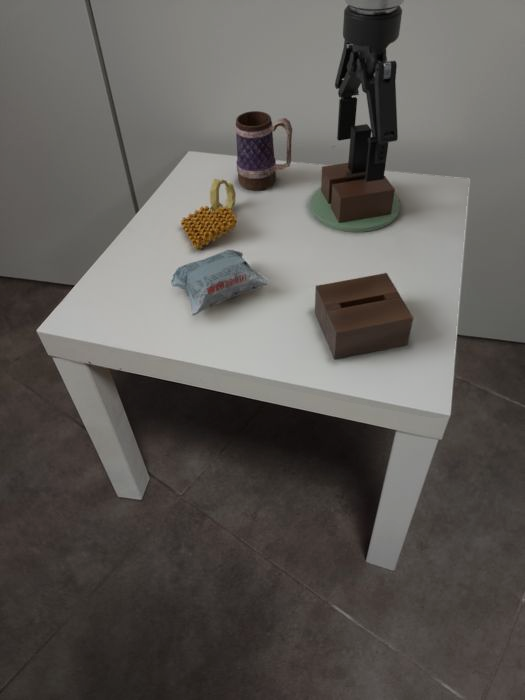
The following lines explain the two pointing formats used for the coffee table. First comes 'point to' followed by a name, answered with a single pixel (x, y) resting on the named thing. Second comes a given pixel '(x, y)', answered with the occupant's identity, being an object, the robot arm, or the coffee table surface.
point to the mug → (258, 149)
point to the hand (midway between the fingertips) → (359, 158)
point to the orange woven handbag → (211, 217)
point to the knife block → (362, 315)
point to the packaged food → (217, 279)
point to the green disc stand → (353, 201)
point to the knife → (358, 152)
